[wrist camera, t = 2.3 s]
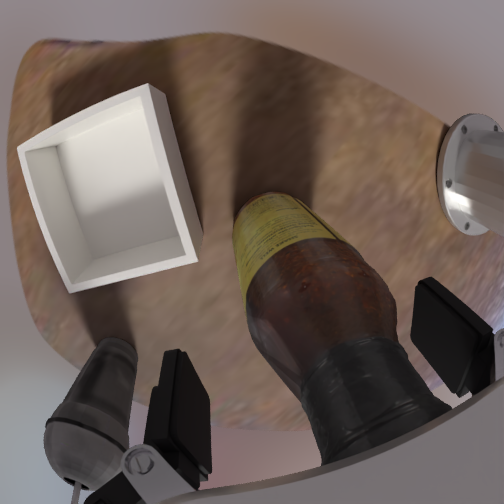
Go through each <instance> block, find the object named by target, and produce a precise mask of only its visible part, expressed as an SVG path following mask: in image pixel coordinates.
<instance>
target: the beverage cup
mask: <svg viewBox="0 0 504 504" xmlns="http://www.w3.org/2000/svg"><path fill="white" fill-rule="evenodd" d="M137 362H138V355H137V353H136V351H135V349H134V348H133V347H132V346H131V345H130V344H128V343H127V342H125V341H124V340H121V339H119V338H113V337H109V338H105V339H103V340H101V341H100V343H99V344H98V346H97V348H96V349H95V350H94V351H93V352H92V354H91V356H90V357H89V359H88V360H87V362H86V364H85V365H84V367H83V368H82V370H81V372H80V373H79V375H78V377H77V378H76V380H75V382H74V384H73V385H72V387H71V388H70V390H69V392H68V394H67V396H66V397H65V399H64V401H63V402H62V404H60V405H59V406H58V407H57V409H56V410H55V411H54V413H53V415H52V416H51V418H49V419H48V420H47V422H46V426H45V427H46V430H45V433H44V449H45V453H46V456H47V458H48V460H49V463H50V465H51V467H52V468H53V470H54V471H55V472H56V473H57V474H58V476H59V477H61V478H62V479H63V480H64V481H65V482H67V483H68V484H70V485H72V486H74V491H73V496H72V501H71V504H78V500H79V495H80V490H81V489H82V490H90V491H96V490H98V489H99V488H100V487H102V486H103V485H104V484H106V483H107V482H108V481H109V480H111V479H112V478H113V477H115V476H116V475H117V474H119V473H120V472H121V471H122V469H121V459H122V456H123V455H124V453H125V452H126V451H127V450H128V449H129V436H128V428H129V419H130V412H131V405H132V398H133V392H134V385H135V379H136V373H137Z"/></svg>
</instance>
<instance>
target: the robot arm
mask: <svg viewBox="0 0 504 504" xmlns="http://www.w3.org/2000/svg"><path fill="white" fill-rule="evenodd" d="M437 187H438V194H439V199H440V203H441V206H442V209H443V211H444V213H445V216H446V218H447V219H448V220H449V222H450V223H451V224H452V225H453V226H454V227H455V228H456V229H457V230H459V231H461V232H463V233H465V234H468V235H480V234H483V233H485V232H487V231H488V230H491V231H493V232H495V233H497V234H499V235H501V236H503V237H504V132H503V130H502V129H501V127H500V126H499V125H498V124H497V123H496V122H495V121H494V120H493V119H492V118H490V117H488V116H486V115H482V114H467V115H464V116H462V117H461V118H459V119H458V120H456V121H455V122H454V124H453V125H452V126H451V127H450V129H449V130H448V132H447V134H446V136H445V138H444V141H443V144H442V146H441V150H440V154H439V159H438V168H437ZM492 331H493V328H491V327H490V326H489V325H488V324H487V323H486V322H485V321H484V320H483V319H482V318H480V317H479V316H478V315H477V314H476V313H475V312H474V311H473V310H471V309H470V308H469V307H468V306H467V305H466V304H464V303H463V302H462V301H461V300H460V299H459V298H457V297H456V296H455V295H454V294H453V293H451V292H450V291H449V290H448V289H447V288H445V287H444V286H443V285H442V284H440V283H439V282H438V281H437V280H435V279H434V278H433V277H428V278H425V279H423V280H420V281H419V282H418V285H417V286H416V287H415V297H414V308H413V317H412V326H411V334H410V336H411V340H412V342H413V344H414V345H415V346H416V347H417V348H418V350H419V351H420V352H421V353H422V355H423V356H424V357H425V359H426V360H427V361H428V362H429V364H430V365H431V366H432V367H433V369H434V370H435V371H436V373H437V374H438V375H439V376H440V378H441V379H442V380H443V382H444V383H445V384H446V386H447V387H448V388H449V390H450V391H451V392H452V393H456V394H457V396H458V397H459V398H460V397H462V396H464V395H465V394H467V393H468V392H469V391H470V392H471V393H472V397H471V398H470V399H468V400H466V401H465V402H463V403H462V404H460V405H458V406H457V407H455V408H454V409H452V410H450V411H448V412H447V413H445V414H443V415H441V416H440V417H438V418H436V419H434V420H432V421H430V422H428V423H427V424H425V425H423V426H421V427H419V428H417V429H415V430H413V431H411V432H409V433H407V434H404V435H402V436H400V437H398V438H396V439H393V440H391V441H389V442H387V443H384V444H382V445H380V446H377V447H375V448H372V449H370V450H367V451H364V452H362V453H359V454H356V455H354V456H351V457H348V458H345V459H342V460H339V461H336V462H333V463H330V464H326V465H323V466H320V467H316V468H313V469H310V470H305V471H302V472H298V473H294V474H289V475H285V476H281V477H277V478H272V479H266V480H262V481H256V482H250V483H245V484H238V485H232V486H224V487H218V488H212V489H205V490H198V488H199V487H200V481H208V474H211V473H212V456H211V425H210V399H209V396H208V394H207V392H206V390H205V388H204V386H203V384H202V382H201V380H200V379H199V377H198V375H197V373H196V371H195V369H194V367H193V365H192V363H191V361H190V359H189V357H188V355H187V353H186V352H185V351H184V352H182V351H181V350H180V349H174V350H169V351H165V352H164V356H163V361H162V367H161V372H160V378H159V384H158V386H155V387H153V389H152V393H151V398H150V404H149V410H148V416H147V423H146V429H145V435H144V442H143V444H140V445H135V446H133V447H131V448H129V449H128V450H127V451H126V452H125V453H124V455H123V456H122V459H121V469H122V471H121V472H120V473H119V474H117V475H116V476H115V477H113V478H112V479H111V480H109V481H108V482H107V483H106V484H104V485H103V486H102V487H100V488H99V489H98V490H96V491H95V492H93V493H92V494H91V495H89V496H88V498H86V500H85V502H84V504H504V328H503V329H500V330H499V331H497V332H496V334H493V333H492Z"/></svg>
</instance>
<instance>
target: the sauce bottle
mask: <svg viewBox="0 0 504 504" xmlns="http://www.w3.org/2000/svg"><path fill="white" fill-rule="evenodd" d="M232 241H233V248H234V254H235V260H236V265H237V270H238V276H239V282H240V287H241V293H242V299H243V303H244V309H245V315H246V319H247V323H248V328H249V332H250V334H251V337H252V340H253V342H254V344H255V346H256V347H257V349H258V350H259V352H260V353H261V354H262V356H263V357H264V358H265V359H266V361H267V362H268V363H269V364H270V366H271V367H272V368H273V369H274V371H275V372H276V373H277V374H278V376H279V377H280V378H281V379H282V381H283V382H284V383H285V384H286V385H287V387H288V388H289V389H290V390H291V391H292V393H293V394H294V395H295V396H296V397H297V398H298V400H299V401H300V402H301V403H302V407H303V409H304V411H305V412H306V414H307V416H308V419H309V421H310V424H311V427H312V431H313V434H314V436H315V439H316V442H317V446H318V449H319V451H320V453H321V458H322V463H321V466H323V465H326V464H330V463H333V462H336V461H339V460H342V459H345V458H348V457H351V456H354V455H356V454H359V453H362V452H364V451H367V450H370V449H372V448H375V447H377V446H380V445H382V444H384V443H387V442H389V441H391V440H393V439H396V438H398V437H400V436H402V435H404V434H407V433H409V432H411V431H413V430H415V429H417V428H419V427H421V426H423V425H425V424H427V423H428V422H430V421H432V420H434V419H436V418H438V417H440V416H441V415H443V414H445V413H447V412H448V411H450V410H452V407H451V406H450V405H448V404H446V403H444V402H443V401H441V400H440V399H438V398H437V397H435V396H434V395H433V393H432V392H431V391H430V390H429V388H428V387H427V385H426V383H425V382H424V380H423V379H422V378H421V376H420V375H419V374H418V372H417V371H416V370H415V369H414V367H413V366H412V364H411V363H410V361H409V360H408V354H407V353H406V352H405V350H404V348H403V347H402V346H401V344H400V343H399V341H398V336H397V332H396V325H397V308H396V302H395V299H394V298H393V296H392V294H391V292H390V291H389V288H388V286H387V285H386V283H385V282H384V281H383V279H382V278H381V277H380V275H379V274H378V273H377V272H376V271H375V270H374V269H373V268H372V267H371V266H369V265H368V264H367V263H366V262H365V261H364V259H363V257H362V256H361V255H360V253H359V252H358V251H357V250H356V249H355V248H354V247H353V246H352V245H351V244H350V243H348V242H347V241H346V240H345V239H344V238H343V237H342V236H341V235H340V234H339V233H338V232H336V231H335V230H334V229H333V228H332V227H331V226H330V225H328V224H327V223H326V222H325V221H324V220H323V219H321V218H320V217H319V216H318V215H317V214H316V213H314V212H313V211H312V210H311V209H310V208H309V207H307V206H306V205H305V204H304V203H303V202H301V201H300V200H298V199H297V198H293V197H291V196H290V195H289V194H286V193H282V192H268V193H264V194H260V195H257V196H254V197H252V198H250V199H249V200H248V201H247V202H246V203H245V204H244V206H243V207H242V208H241V209H240V211H239V212H238V214H237V216H236V218H235V220H234V225H233V233H232Z"/></svg>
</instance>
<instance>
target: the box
mask: <svg viewBox="0 0 504 504" xmlns="http://www.w3.org/2000/svg"><path fill="white" fill-rule="evenodd" d="M17 150H18V155H19V159H20V163H21V167H22V171H23V174H24V178H25V181H26V185H27V188H28V192H29V195H30V198H31V201H32V204H33V207H34V210H35V213H36V216H37V219H38V222H39V225H40V227H41V230H42V233H43V235H44V238H45V240H46V243H47V245H48V248H49V250H50V253H51V255H52V257H53V260H54V262H55V264H56V266H57V269H58V271H59V273H60V275H61V277H62V279H63V282H64V284H65V286H66V288H67V290H68V292H69V294H70V293H74V292H77V291H81V290H85V289H89V288H93V287H97V286H101V285H105V284H109V283H113V282H117V281H121V280H125V279H130V278H134V277H138V276H142V275H146V274H150V273H154V272H158V271H162V270H166V269H170V268H174V267H178V266H182V265H186V264H190V263H194V262H198V260H199V255H200V250H201V245H202V240H203V231H202V228H201V225H200V221H199V218H198V215H197V211H196V208H195V204H194V201H193V197H192V194H191V190H190V187H189V183H188V180H187V176H186V172H185V169H184V165H183V161H182V158H181V154H180V150H179V146H178V143H177V139H176V135H175V131H174V127H173V123H172V119H171V115H170V111H169V107H168V103H167V99H166V95H165V94H164V93H163V92H161V91H160V90H158V89H157V88H155V87H153V86H152V85H150V84H149V83H147V84H144V85H141V86H138V87H136V88H133V89H130V90H128V91H125V92H123V93H120V94H118V95H115V96H113V97H111V98H108V99H106V100H104V101H101V102H99V103H97V104H95V105H93V106H90V107H88V108H86V109H84V110H82V111H80V112H78V113H76V114H74V115H72V116H70V117H68V118H66V119H64V120H62V121H61V122H59V123H57V124H55V125H53V126H51V127H50V128H48V129H46V130H44V131H43V132H41V133H39V134H38V135H36V136H34V137H33V138H31V139H29V140H28V141H26V142H24V143H23V144H21V145H20V146H18V147H17Z"/></svg>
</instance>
